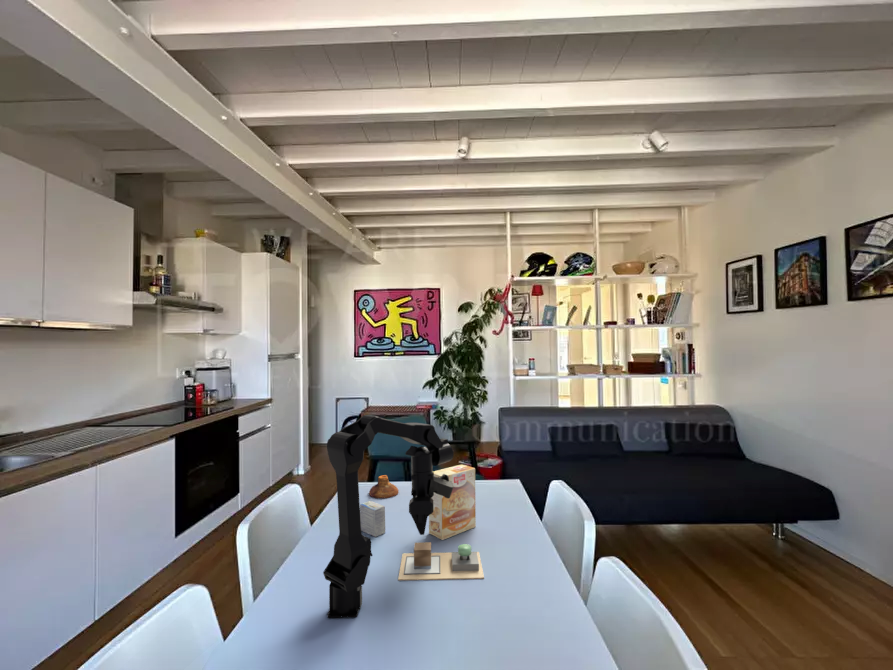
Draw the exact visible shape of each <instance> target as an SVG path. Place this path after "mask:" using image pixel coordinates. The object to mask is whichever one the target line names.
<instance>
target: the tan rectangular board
mask: <svg viewBox="0 0 893 670" xmlns="http://www.w3.org/2000/svg"><path fill="white" fill-rule="evenodd" d="M452 552H453V551H451V552H431V569H414V552H410V553H409V552H406V553H402V554H401V555H402V556H401V559H400V566H399V567H400V568H399V571H398V573H399V574H398V578H397V581H433V580H434V581H435V580H437V581H438V580H472V579H473V580H477V579H478V580H479V579H480V580H482V579H483V580H484V579H485V576H484V570H483V565H482V559H481V556H480V551H476V552H477V557H478V562H479V571H452Z"/></svg>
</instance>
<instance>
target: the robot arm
mask: <svg viewBox="0 0 893 670" xmlns="http://www.w3.org/2000/svg"><path fill="white" fill-rule="evenodd" d="M377 434H384V435H389V436H394V437H399V438H401V439H403V440H404V441H406V442H408V443H410V444H414V445H410V447H409V449H407V450H406V452H405V456H409V457H410V458H411V460H410V461H411V475H410V480H411V493H410V494H411V496H412V498H411V499H409V503H408V514H410V516H411V518H412V520H413V522H414V524H415V527H416V529H417V531H418V534H419V535H420V536H424V535H425V531H426V526H427V520H428V518H429V515H430V514H432V513H433V499H432V497H433V495H434V493H436V494H439V495H442V496H444V497H445V498H450V496H451V493H452V490H453V483H452V481H449V477H448V475H446V474H443V475H442V476H441V477H438V478H437V477H434V472H433V466H434V467H436V466H440V465H443V464H446V463H449V462H451V461H452V460H453V459H454V454H455V453H454V450H453V447H452V446H451V444H449V443H448V442H449V439H448V438H443V437H442V438H440V437H439V435H438V434H437V432H436V429H435V426H434V425H432V424H430V423H429V424H428V423H421V422H405V423H404V422H401V421H396V420H392V419H388V418H387V419H386V418H383V417H379V416H378V415H371V414H365V415H362V416H361V417H360V418H358V419H357V420H356V421H354V422H352V423H350V424H348V425H346V426H344V427H343V428H341V429H340V430H339V431H336V432H334V433H333V434H332V435H331V436H330V437H329V438H328V440H327V443H326V451H327V455H328V460H329V462H330V464H331V466H332V468H333V470H334V473H335V476H336V493H337V511H338V515H337V516H338V529H339V531H338V532H339V534H338V537H337V539H336V541H335V543H334V545H333V555H332V557H331V559H330V561H329V562H328V563H327V566H326V567H325V569H324V570H323V572H322V574H323V577H324V579H325V580H326V581H328V582H330V584H329V586H328V587H329V590H328V591H329V594H328V595H329V600H328V601H329V603H328V604H329V609H328V612H327V617H326V618H327V619H340V618H341V619H342V618H344V619H345V618H347V619H348V618H357V616H358V613H359V611H360V610H361V608H362V606H363V605H362V604H363V585H365V582H366V578H367V574H368V570H369V566H370V564H371V557H373V552H372V539H371V538H370V537H368V536H365V535H363V533H362V531H361V520H360V504H361V503H360V490H359V489H360V485H359V470H360V468H361V466H362V463H363V461H364V456H365V455H364V453H365V450H367V448H368V447H370V446H371V445H372V443H373V441H374V439H375V436H376V435H377ZM415 445H419V446H415Z"/></svg>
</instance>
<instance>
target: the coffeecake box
mask: <svg viewBox="0 0 893 670" xmlns="http://www.w3.org/2000/svg"><path fill="white" fill-rule="evenodd" d="M432 471H433V470H432ZM433 472H434V477H437V478H438V477H441V476H442V475H443V474H446V475H448V477H449V481H452V483H453V490H452V493H451V496H450V498H445V497H444V496H442V495H439V494H436V493H434V495H433V497H432V499H433V513H432V514H430V515H429V516H428V534H429V535H432V536H434V537H436V538H437V539H439V540H442V541H444V540H446V539H449V538H451V537H454V536H456V535H458V534H462V533H465V532H466V531H468V530H472V529H474V528H476V525H477V523H476V518H477V517H476V468H475V467H472V466H471V465H470V466H469V465H466V464H458V465H453V466H450V467H445V468H442V469H438V470H435V471H433Z"/></svg>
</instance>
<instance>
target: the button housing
mask: <svg viewBox="0 0 893 670" xmlns="http://www.w3.org/2000/svg"><path fill="white" fill-rule="evenodd" d="M451 552H452V571H479V562H478V557H477V552H478V551H471V555H469V556H467V560H463V556H461V555H459V554H458V551H451Z"/></svg>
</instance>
